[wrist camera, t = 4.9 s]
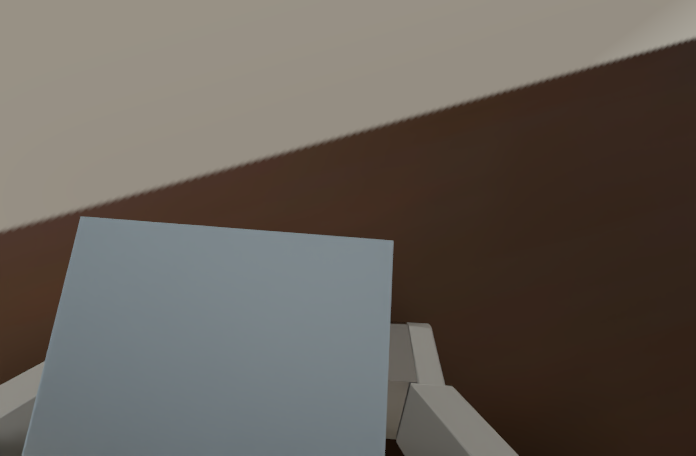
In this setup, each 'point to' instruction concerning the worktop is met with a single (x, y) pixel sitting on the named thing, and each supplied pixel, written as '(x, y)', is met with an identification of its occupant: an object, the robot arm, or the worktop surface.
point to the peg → (216, 344)
